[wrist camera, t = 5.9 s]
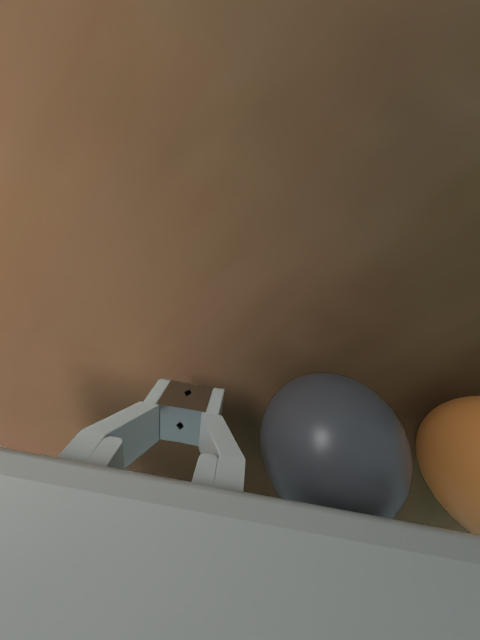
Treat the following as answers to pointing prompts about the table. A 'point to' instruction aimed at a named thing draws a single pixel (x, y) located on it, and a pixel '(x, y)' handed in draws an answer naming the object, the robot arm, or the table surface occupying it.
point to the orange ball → (453, 458)
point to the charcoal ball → (336, 446)
